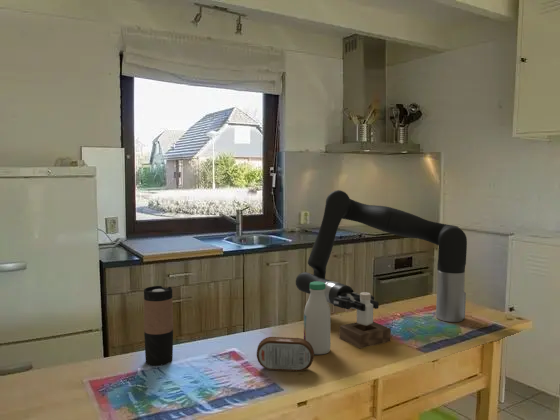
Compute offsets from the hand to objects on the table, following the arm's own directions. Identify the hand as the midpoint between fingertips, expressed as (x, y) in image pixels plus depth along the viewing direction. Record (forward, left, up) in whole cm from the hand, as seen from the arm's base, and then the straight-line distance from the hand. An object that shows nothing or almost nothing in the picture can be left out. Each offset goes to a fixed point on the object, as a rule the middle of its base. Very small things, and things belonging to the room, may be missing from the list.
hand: (371, 306), depth 142 cm
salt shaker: (0, -3, -6) cm, 7 cm away
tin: (+33, +4, -11) cm, 35 cm away
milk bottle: (+18, -3, -11) cm, 21 cm away
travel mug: (+60, -18, -11) cm, 64 cm away
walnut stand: (0, -3, -11) cm, 11 cm away
